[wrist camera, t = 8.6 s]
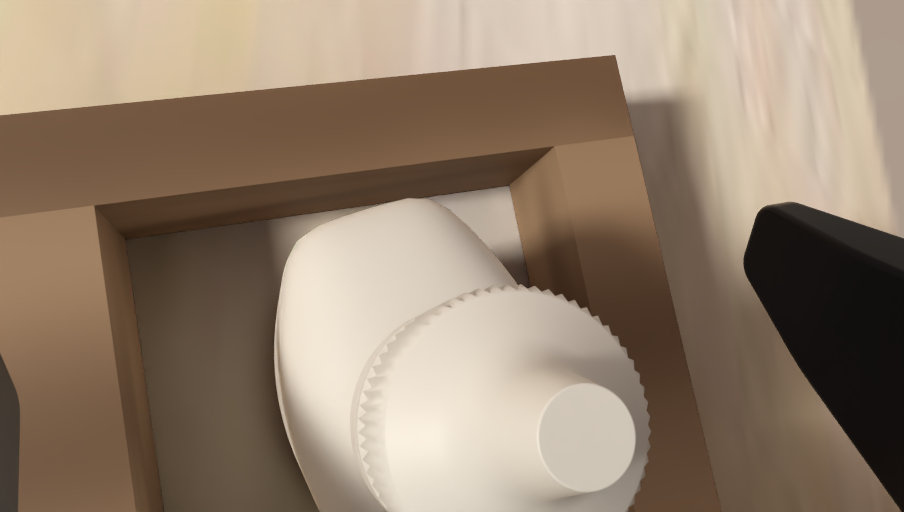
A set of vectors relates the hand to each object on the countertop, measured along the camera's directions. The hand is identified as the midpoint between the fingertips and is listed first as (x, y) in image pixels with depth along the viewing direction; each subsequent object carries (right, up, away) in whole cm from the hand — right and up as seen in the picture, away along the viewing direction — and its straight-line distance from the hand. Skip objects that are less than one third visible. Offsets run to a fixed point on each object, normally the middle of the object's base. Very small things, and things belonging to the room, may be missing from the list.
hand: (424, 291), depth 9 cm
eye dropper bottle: (-2, -3, +8) cm, 8 cm away
